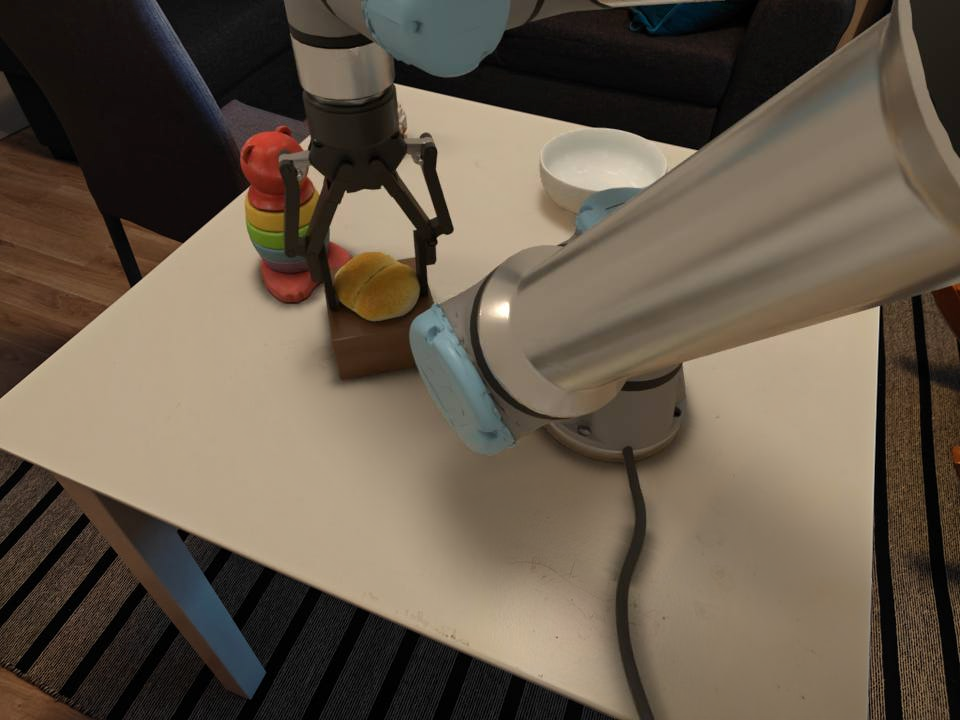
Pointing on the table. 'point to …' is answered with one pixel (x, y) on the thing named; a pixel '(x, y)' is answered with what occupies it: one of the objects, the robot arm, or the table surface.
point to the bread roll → (377, 286)
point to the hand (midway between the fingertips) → (378, 293)
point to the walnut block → (373, 337)
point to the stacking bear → (280, 216)
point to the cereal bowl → (597, 164)
